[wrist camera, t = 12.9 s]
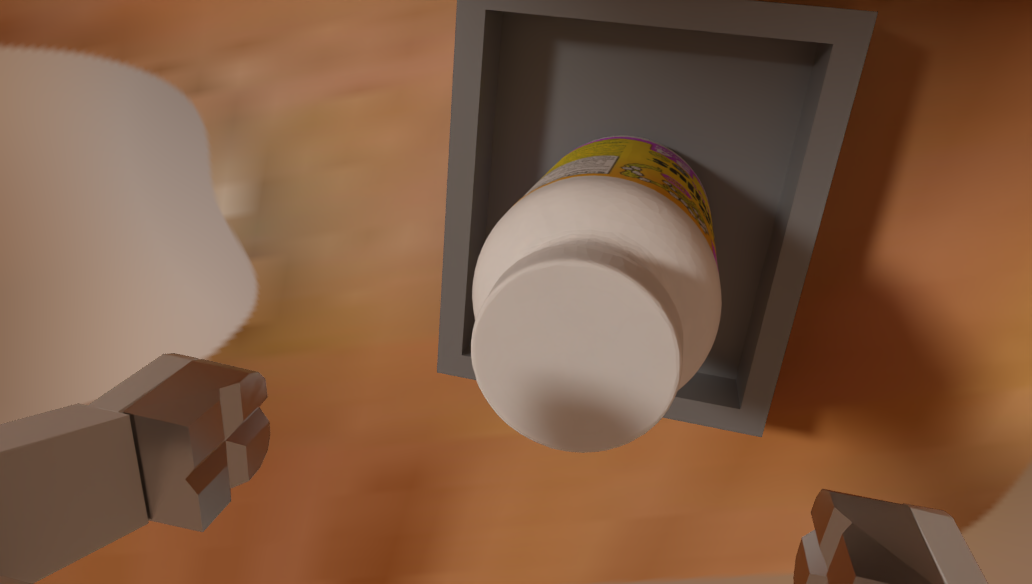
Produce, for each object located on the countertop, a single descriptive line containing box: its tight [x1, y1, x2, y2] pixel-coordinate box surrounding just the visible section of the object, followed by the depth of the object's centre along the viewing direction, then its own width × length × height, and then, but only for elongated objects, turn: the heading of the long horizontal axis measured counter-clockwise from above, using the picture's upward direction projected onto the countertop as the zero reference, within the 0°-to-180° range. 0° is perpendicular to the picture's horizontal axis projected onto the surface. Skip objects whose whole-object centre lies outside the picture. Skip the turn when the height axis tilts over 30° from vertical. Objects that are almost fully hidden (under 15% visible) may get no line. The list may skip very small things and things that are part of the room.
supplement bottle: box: [471, 136, 722, 453], centre depth 21 cm, size 7×7×13 cm
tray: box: [437, 0, 878, 437], centre depth 25 cm, size 15×13×3 cm
